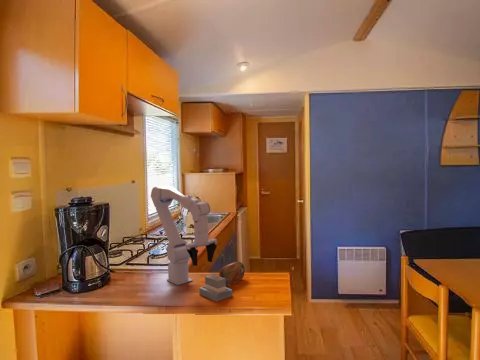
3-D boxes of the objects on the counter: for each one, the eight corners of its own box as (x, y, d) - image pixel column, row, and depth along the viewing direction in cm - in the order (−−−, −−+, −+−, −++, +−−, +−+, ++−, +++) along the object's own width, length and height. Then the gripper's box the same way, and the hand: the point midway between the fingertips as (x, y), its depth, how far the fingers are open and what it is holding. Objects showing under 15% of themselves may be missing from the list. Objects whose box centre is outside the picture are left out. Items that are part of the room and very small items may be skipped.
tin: (223, 288, 145) (223, 268, 145) (218, 287, 147) (217, 267, 147) (245, 278, 157) (244, 260, 157) (239, 277, 159) (239, 259, 159)
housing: (217, 296, 134) (217, 281, 133) (205, 291, 140) (205, 276, 139) (225, 293, 136) (225, 278, 136) (213, 288, 142) (213, 274, 142)
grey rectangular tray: (199, 294, 139) (199, 287, 139) (215, 288, 145) (215, 283, 145) (216, 301, 131) (216, 295, 131) (232, 295, 136) (232, 289, 136)
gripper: (192, 234, 138) (193, 268, 138) (220, 229, 147) (222, 261, 147) (182, 232, 143) (183, 265, 143) (210, 228, 152) (212, 258, 153)
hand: (202, 263), depth 146 cm, fingers open, 7 cm apart
